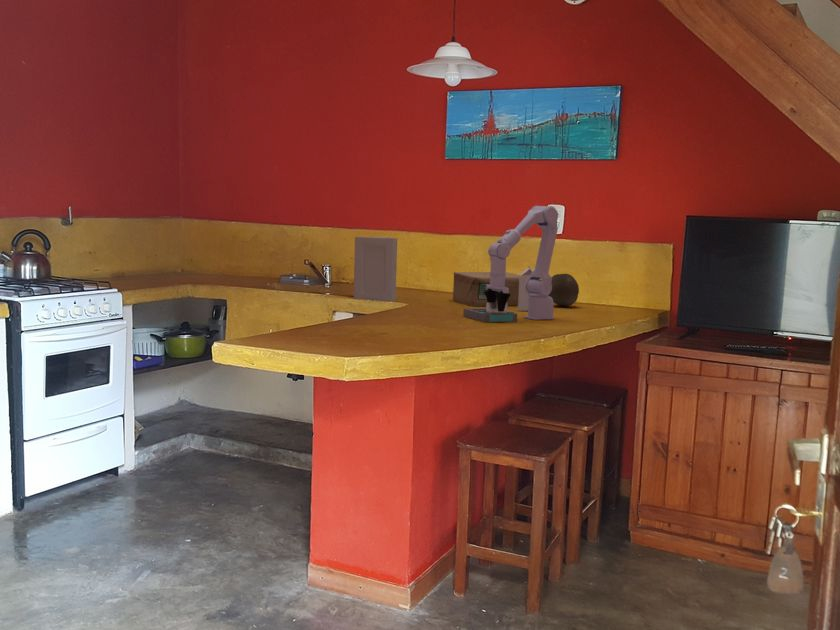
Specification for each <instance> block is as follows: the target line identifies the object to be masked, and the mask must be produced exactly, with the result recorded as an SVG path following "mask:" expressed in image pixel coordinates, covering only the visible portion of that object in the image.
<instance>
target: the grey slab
mask: <svg viewBox="0 0 840 630" xmlns="http://www.w3.org/2000/svg"><path fill="white" fill-rule="evenodd" d="M485 308H486V314H488V313H507V311H508V306H507V303H506V306H505V309H504V312H499V311H498V304H497V302H487V304H486V307H485Z"/></svg>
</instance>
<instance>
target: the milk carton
mask: <svg viewBox="0 0 840 630" xmlns="http://www.w3.org/2000/svg"><path fill="white" fill-rule="evenodd" d="M534 270H535V268H532V269H531V266H530V265H527V268H526V269H525V270H523V271H522V272H521V273H519V274H518V275H519V296H518V306H517V310H518V311H519V312H520V311H521V312H528V304H529V295H528V292H527V291H526V288H525V285H526V282H527V280H528V279H529V275H530V274H531V273H532V272H533V271H534Z"/></svg>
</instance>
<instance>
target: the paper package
mask: <svg viewBox="0 0 840 630" xmlns="http://www.w3.org/2000/svg"><path fill="white" fill-rule="evenodd" d="M452 273H453V286H452V287H453V288H452V289H453V291H452V301H453V302H454V301H455V303H458V302H459V304H462V305H465V304H466V305H467V306H469V307H474V308H486V304H487V298H486V295H485V293H484V291H487V289H486V284H490V271H453V272H452ZM519 275H520V274H517V273H511V272H507V271H506V272H505V287H507V288H509V294H510V297H509V298H508V300H507V307H518V296H519ZM496 290H498V289H496ZM498 293H500V292H498ZM496 302H497V298H496Z"/></svg>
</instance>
